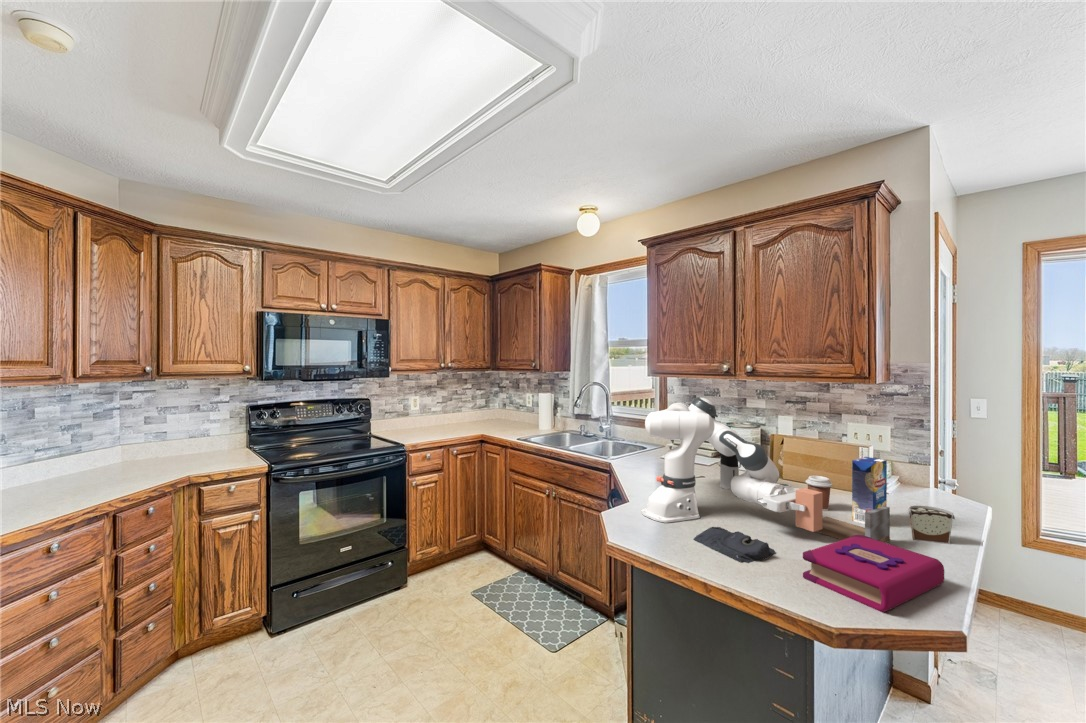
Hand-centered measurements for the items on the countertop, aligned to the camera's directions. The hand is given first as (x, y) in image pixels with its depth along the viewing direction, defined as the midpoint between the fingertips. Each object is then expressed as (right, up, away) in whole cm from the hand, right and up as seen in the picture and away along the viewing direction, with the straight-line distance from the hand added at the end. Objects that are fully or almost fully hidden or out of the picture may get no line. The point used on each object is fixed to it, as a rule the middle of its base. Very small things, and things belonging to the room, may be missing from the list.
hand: (811, 507), depth 152 cm
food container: (+38, -10, -1) cm, 39 cm away
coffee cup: (+20, -10, +30) cm, 38 cm away
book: (-1, -11, -29) cm, 31 cm away
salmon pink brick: (0, -7, +1) cm, 7 cm away
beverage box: (+30, -10, +16) cm, 36 cm away
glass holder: (-1, -10, +58) cm, 59 cm away
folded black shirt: (-28, -11, -6) cm, 31 cm away
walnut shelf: (+14, -10, +3) cm, 17 cm away
